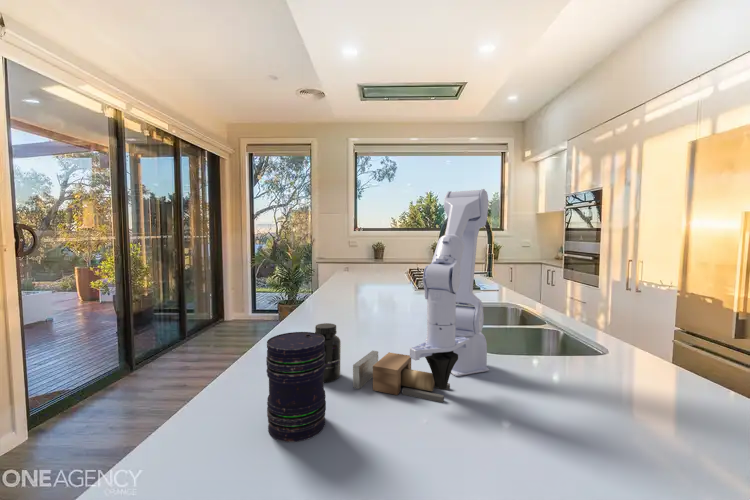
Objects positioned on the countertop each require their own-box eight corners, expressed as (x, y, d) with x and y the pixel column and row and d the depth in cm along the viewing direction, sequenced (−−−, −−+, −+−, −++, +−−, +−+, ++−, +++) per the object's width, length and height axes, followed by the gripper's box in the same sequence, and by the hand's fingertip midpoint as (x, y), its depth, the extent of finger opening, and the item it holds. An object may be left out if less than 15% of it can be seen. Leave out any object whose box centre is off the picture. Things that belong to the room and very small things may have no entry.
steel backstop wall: (378, 371, 81) (378, 351, 81) (359, 389, 72) (359, 366, 72) (372, 370, 82) (372, 350, 82) (353, 387, 73) (352, 365, 73)
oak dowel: (434, 390, 73) (435, 372, 73) (430, 392, 69) (431, 374, 70) (403, 384, 76) (404, 367, 76) (397, 386, 72) (399, 368, 73)
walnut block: (411, 378, 77) (411, 355, 77) (397, 395, 69) (397, 370, 69) (388, 374, 80) (388, 352, 79) (372, 390, 71) (372, 365, 71)
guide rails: (449, 388, 73) (449, 383, 73) (442, 402, 66) (442, 397, 66) (412, 381, 76) (412, 376, 76) (402, 394, 70) (402, 389, 70)
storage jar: (297, 450, 52) (296, 353, 51) (254, 430, 57) (253, 342, 56) (337, 420, 60) (337, 336, 60) (297, 405, 65) (296, 328, 65)
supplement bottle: (335, 384, 75) (334, 330, 74) (306, 381, 76) (305, 328, 75) (344, 372, 81) (344, 322, 81) (317, 369, 83) (316, 321, 82)
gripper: (453, 313, 77) (453, 373, 77) (400, 322, 69) (400, 387, 70) (477, 320, 71) (476, 384, 71) (422, 330, 63) (422, 402, 64)
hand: (440, 387), depth 70 cm, fingers closed
